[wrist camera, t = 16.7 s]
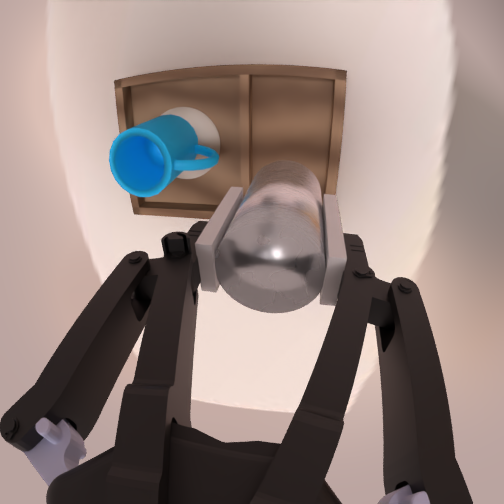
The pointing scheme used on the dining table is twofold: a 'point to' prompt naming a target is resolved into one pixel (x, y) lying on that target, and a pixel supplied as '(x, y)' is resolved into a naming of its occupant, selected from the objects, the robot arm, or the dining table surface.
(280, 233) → the clear rounded cylinder
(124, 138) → the mug
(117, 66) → the dining table surface
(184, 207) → the tray
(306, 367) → the dining table surface
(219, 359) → the dining table surface
